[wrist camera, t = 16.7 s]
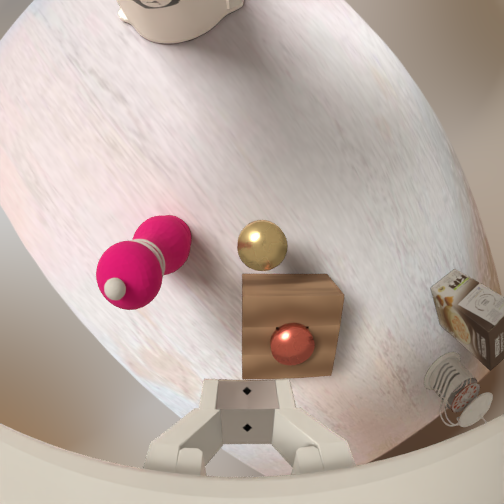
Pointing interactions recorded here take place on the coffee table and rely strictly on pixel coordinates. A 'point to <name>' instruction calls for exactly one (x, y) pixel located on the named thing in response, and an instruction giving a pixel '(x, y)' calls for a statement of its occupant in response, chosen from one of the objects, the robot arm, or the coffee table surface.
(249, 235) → the brass pin
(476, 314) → the coffee box
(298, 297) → the hitch block
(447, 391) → the french press
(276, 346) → the red round-headed grey cylinder
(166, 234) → the pepper mill
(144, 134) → the coffee table surface
